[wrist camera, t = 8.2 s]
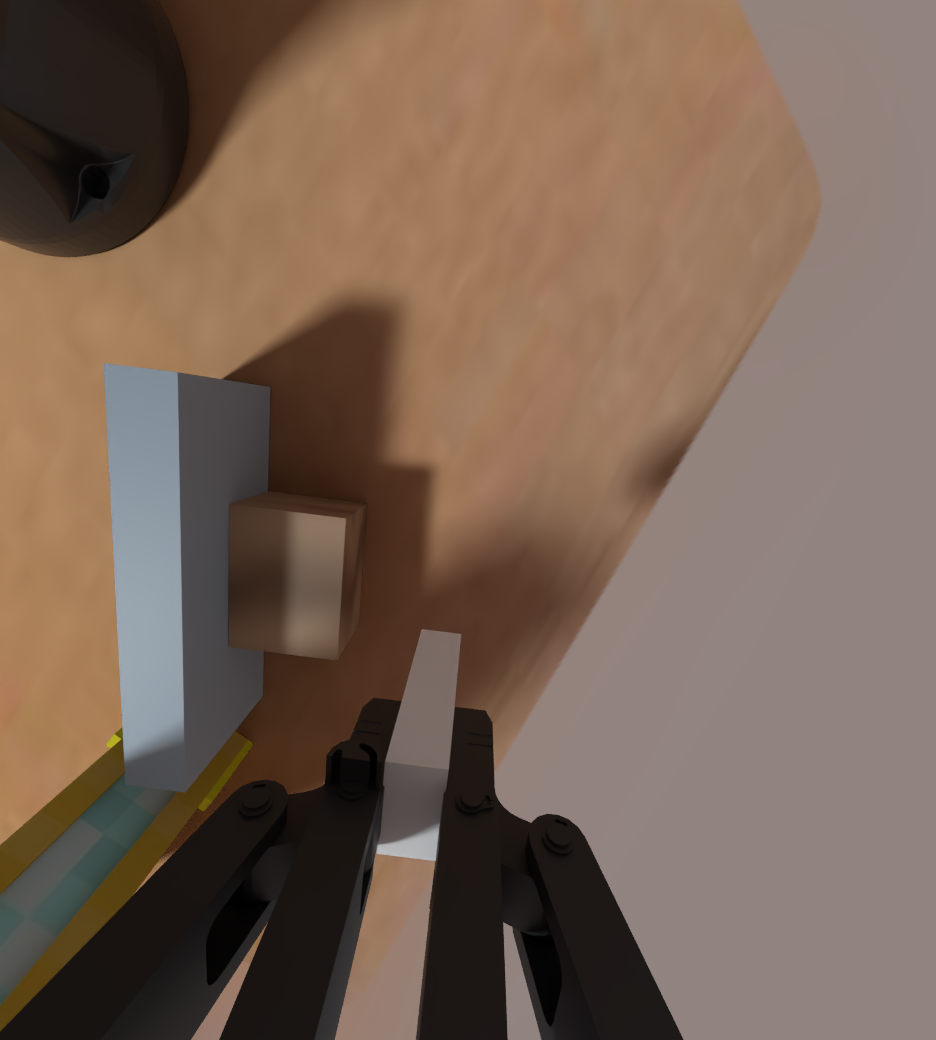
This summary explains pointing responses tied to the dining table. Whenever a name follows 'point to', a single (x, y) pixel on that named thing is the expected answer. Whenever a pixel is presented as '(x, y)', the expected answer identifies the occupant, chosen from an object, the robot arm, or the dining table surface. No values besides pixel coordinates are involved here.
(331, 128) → the dining table surface
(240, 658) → the slate board
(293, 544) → the brown rectangular block
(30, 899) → the yellow rounded trough
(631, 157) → the dining table surface
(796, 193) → the dining table surface
